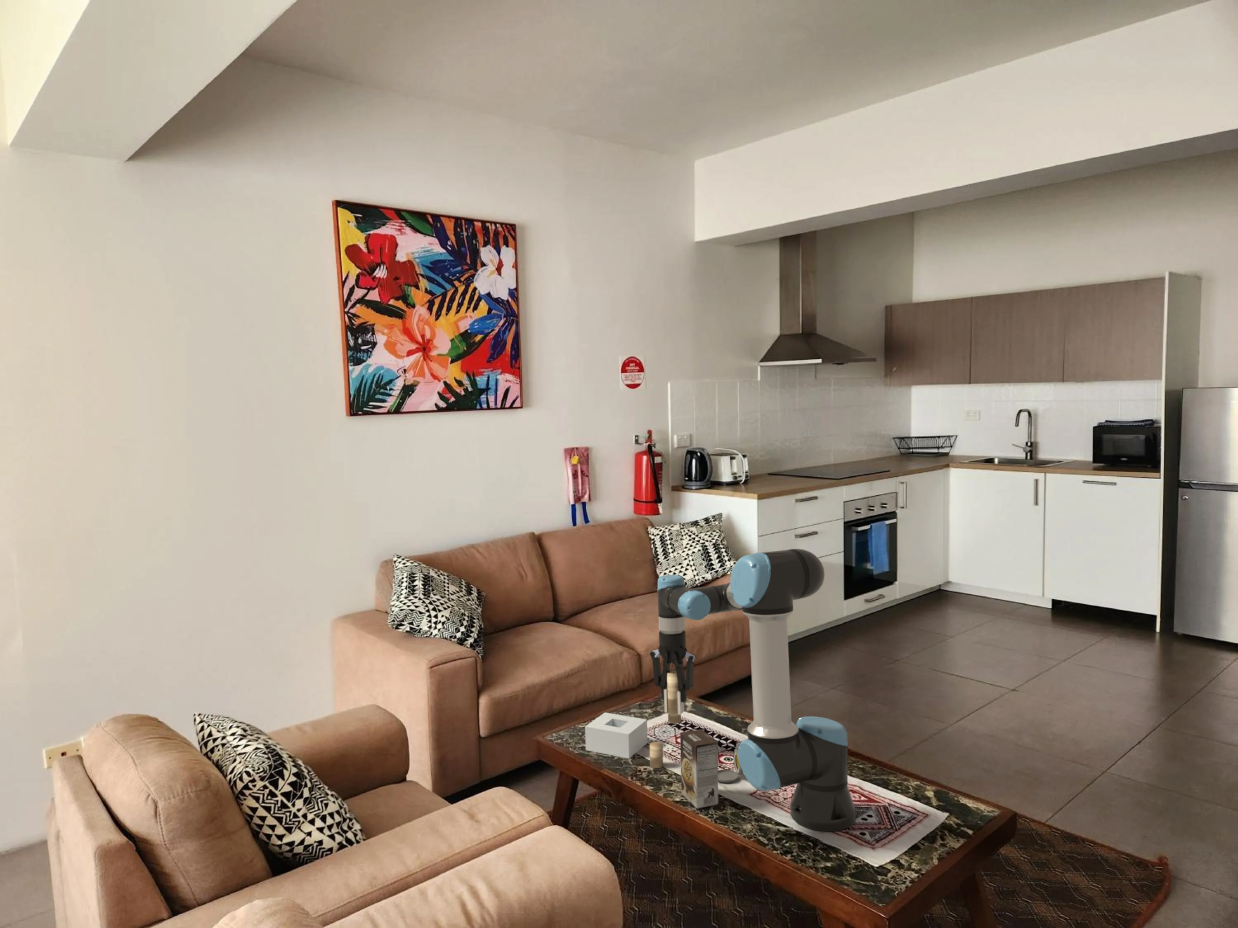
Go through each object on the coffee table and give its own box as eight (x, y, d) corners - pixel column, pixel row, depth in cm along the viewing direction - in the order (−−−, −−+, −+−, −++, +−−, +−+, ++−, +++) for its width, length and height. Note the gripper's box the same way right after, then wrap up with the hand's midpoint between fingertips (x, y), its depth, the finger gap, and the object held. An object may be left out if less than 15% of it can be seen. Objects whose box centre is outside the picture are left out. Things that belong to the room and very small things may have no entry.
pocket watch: (707, 778, 224) (707, 741, 223) (728, 768, 229) (728, 732, 228) (731, 788, 217) (730, 750, 217) (752, 778, 223) (751, 741, 222)
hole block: (629, 758, 237) (628, 734, 237) (585, 749, 244) (585, 726, 243) (647, 742, 248) (647, 719, 247) (605, 734, 254) (604, 712, 254)
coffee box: (680, 793, 215) (679, 731, 214) (702, 788, 218) (701, 727, 217) (696, 809, 207) (695, 745, 206) (719, 804, 209) (718, 740, 208)
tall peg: (677, 724, 237) (676, 675, 236) (666, 722, 239) (664, 673, 238) (682, 719, 240) (681, 671, 239) (671, 718, 242) (670, 670, 241)
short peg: (659, 769, 230) (659, 747, 229) (647, 766, 231) (647, 745, 231) (665, 764, 233) (664, 743, 232) (653, 761, 235) (653, 740, 234)
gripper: (704, 629, 237) (706, 711, 239) (651, 624, 245) (653, 703, 246) (694, 636, 231) (696, 720, 232) (639, 630, 238) (642, 712, 240)
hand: (674, 711), depth 239 cm, fingers closed on tall peg, 3 cm apart
